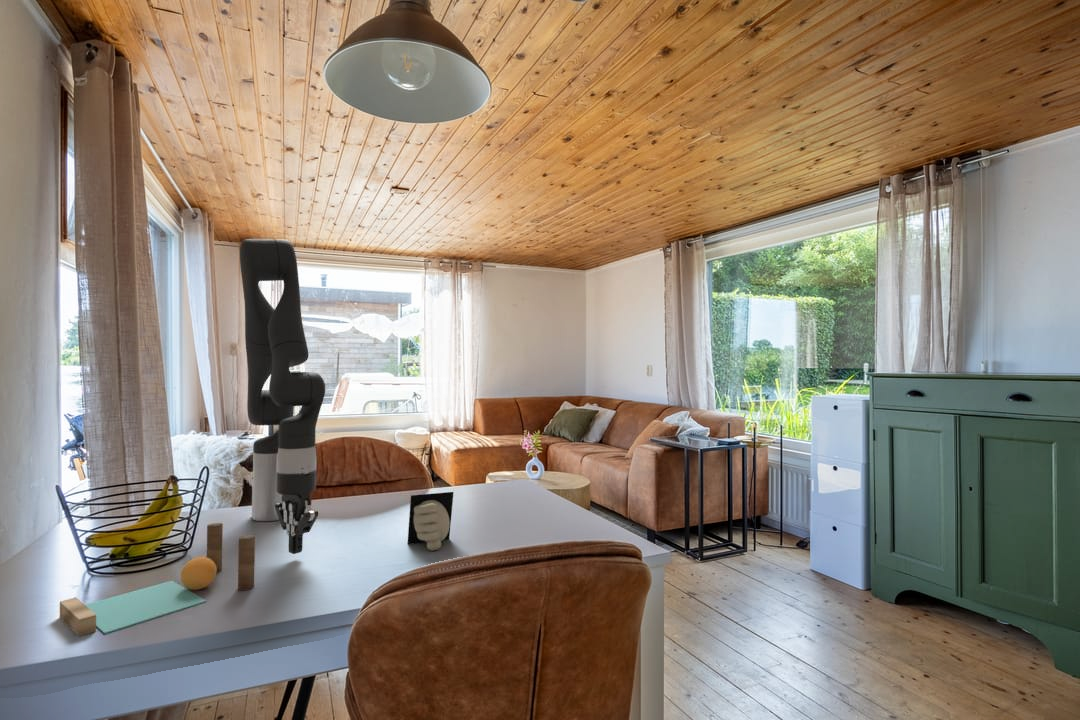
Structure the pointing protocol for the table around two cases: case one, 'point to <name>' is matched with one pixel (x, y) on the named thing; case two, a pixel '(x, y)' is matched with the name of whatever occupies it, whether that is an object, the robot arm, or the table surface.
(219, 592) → the table surface
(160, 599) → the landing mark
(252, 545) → the post
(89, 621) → the rail
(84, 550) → the table surface
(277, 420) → the robot arm
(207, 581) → the ball
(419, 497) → the decorative object
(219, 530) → the post
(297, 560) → the table surface
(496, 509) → the table surface
